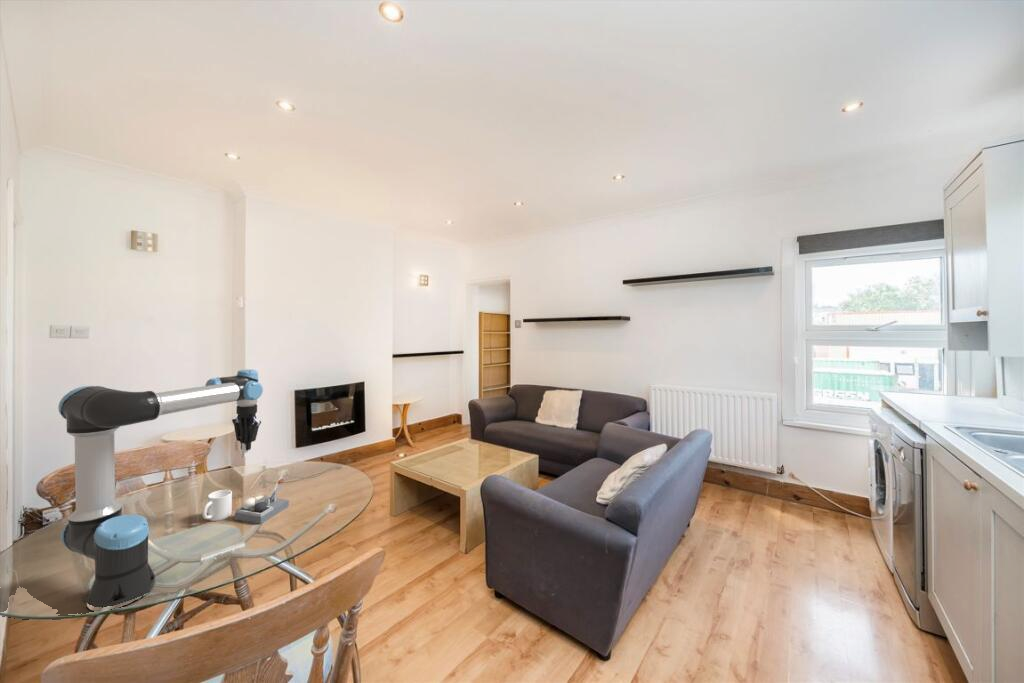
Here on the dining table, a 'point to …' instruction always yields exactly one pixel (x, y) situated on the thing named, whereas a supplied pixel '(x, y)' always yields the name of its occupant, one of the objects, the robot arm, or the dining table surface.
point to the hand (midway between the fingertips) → (245, 456)
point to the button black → (260, 507)
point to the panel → (259, 518)
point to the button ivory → (248, 503)
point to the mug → (218, 505)
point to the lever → (276, 489)
